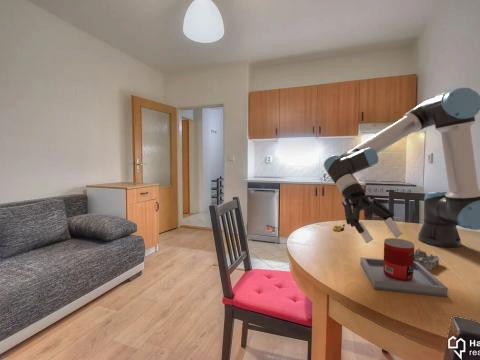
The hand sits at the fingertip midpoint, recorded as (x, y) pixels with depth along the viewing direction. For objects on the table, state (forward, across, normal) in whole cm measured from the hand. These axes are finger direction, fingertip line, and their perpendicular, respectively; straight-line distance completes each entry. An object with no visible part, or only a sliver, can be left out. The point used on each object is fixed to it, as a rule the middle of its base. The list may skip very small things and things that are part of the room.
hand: (385, 238), depth 80 cm
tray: (+11, 0, -5) cm, 12 cm away
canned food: (+11, 0, -5) cm, 12 cm away
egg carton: (+9, -19, -8) cm, 23 cm away
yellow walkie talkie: (-25, -27, -43) cm, 56 cm away
